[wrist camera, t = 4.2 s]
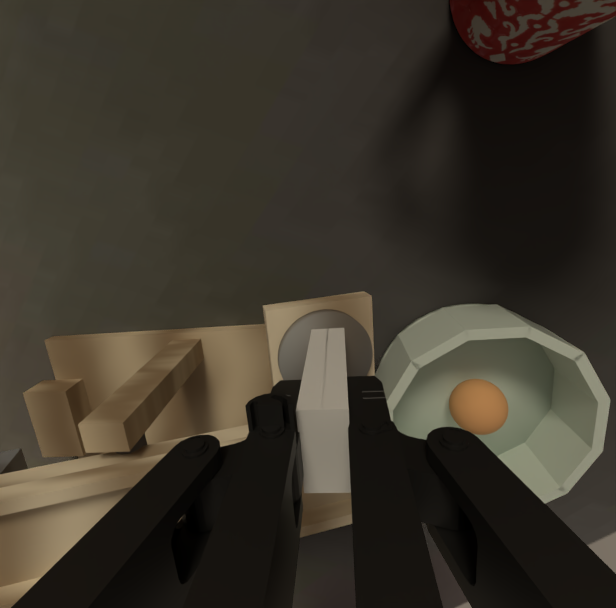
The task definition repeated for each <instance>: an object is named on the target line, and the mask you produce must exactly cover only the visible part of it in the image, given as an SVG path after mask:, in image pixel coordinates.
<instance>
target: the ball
mask: <svg viewBox="0 0 616 608" xmlns="http://www.w3.org/2000/svg"><path fill="white" fill-rule="evenodd" d="M449 409H450V413H451V415H452V417H453V419H454V421H455V422H456V423H457V424H458V425H459V426H460V427H461V428H462V429H464V430H466V431H469V432H471V433H473V434H477V435H487V434H491V433H493V432H495V431H497V430H499V429H500V428H501V427H502V426H503V425H504V423H505V421H506V419H507V417H508V403H507V400H506V398H505V396H504V394H503V393H502V391H501V390H500V389H499V388H498V387H497V386H495V385H494V384H492V383H491V382H488V381H486V380H482V379H469V380H465V381H463V382H461V383H460V384H458V385H457V386H456V387H455V388H454V389H453V391H452V393H451V395H450V399H449Z"/></svg>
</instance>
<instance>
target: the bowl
mask: <svg viewBox="0 0 616 608" xmlns="http://www.w3.org/2000/svg"><path fill="white" fill-rule="evenodd" d="M375 376H376V377H377V378H378V379H379V380H380V381H381V382H382V384H383V389H384V393H385V398H386V401H387V405H388V409H389V413H390V418H391V421H393V422H394V424H395V426H396V427H397V430H398V431H400V432H401V433H403V434H405V435H407V436H410V437H414V438H419V439H424V440H426V439H427V435H428V434H429V433H430V432H431V431H432V430H434V429H437V428H440V427H456V428H461V427H460V426H459V425H458V424H457V423H456V422H455V421H454V419H453V417H452V415H451V413H450V409H449V399H450V395H451V393H452V391H453V389H454V388H455V387H456V386H457V385H458V384H460V383H461V382H463V381H465V380H469V379H482V380H486V381H488V382H491V383H492V384H494V385H495V386H497V387H498V388H499V389H500V390H501V391H502V393H503V394H504V396H505V398H506V400H507V403H508V417H507V419H506V421H505V423H504V425H503V426H502V427H501V428H500V429H499V430H497V431H495V432H493V433H491V434H487V435H477V434H474V435H475V436H477V437H478V438H479V439H480V440H481V441H482V442H483V443H484V444H485V445H486V446H487V447H488V448H489V449H490V450H491V451H492V452H493V453H494V454H495V455H496V456H497V457H498V458H499V459H500V460H501V461H502V462H503V463H504V464H505V465H506V466H507V467H508V468H509V469H510V470H511V471H512V472H513V473H514V474H515V475H516V476H517V477H518V478H519V479H520V480H521V481H522V482H523V483H524V484H525V485H526V486H527V487H528V488H529V489H530V490H531V491H532V492H533V493H534V494H535V495H537V496H538V497H539V498H540V499H541V500H542V501H543V502H544V503H547V502H549V501H551V500H554V499H556V498H558V497H560V496H563V495H565V494H567V493H568V492H569V491H570V489H571V488H572V487H573V486H574V485H575V484H576V482H577V481H578V480H579V479H580V478H581V476H582V475H583V474H584V473H585V472H586V471H587V469H588V468H589V467H590V466H591V465H592V463H593V462H594V461H595V460H596V459H597V457H598V456H599V455H600V454H601V453H602V452H603V446H604V439H605V433H606V426H607V419H608V412H609V406H610V398H609V396H608V394H607V393H606V391H605V389H604V387H603V385H602V384H601V382H600V380H599V378H598V376H597V375H596V373H595V371H594V369H593V367H592V365H591V364H590V362H589V360H588V358H587V356H586V355H585V353H584V352H583V351H581V350H579V349H578V348H576V347H575V346H573V345H571V344H570V343H568V342H566V341H565V340H563V339H562V338H560V337H558V336H557V335H555V334H554V333H552V332H550V331H549V330H547V329H545V328H544V327H542V326H540V325H538V324H536V323H534V322H532V321H530V320H528V319H526V318H524V317H522V316H520V315H518V314H517V313H515V312H512V311H510V310H507V309H505V308H503V307H501V306H499V305H497V304H492V305H489V304H481V303H464V304H456V305H451V306H447V307H443V308H440V309H437V310H434V311H432V312H429V313H427V314H425V315H423V316H421V317H419V318H418V319H416V320H415V321H413V322H412V323H410V324H409V325H408V326H406V327H405V328H404V329H403V330H402V331H401V332H400V333H399V334H398V335H397V336H396V337H395V338H394V339H393V340H392V342H391V343H390V344H389V346H388V347H387V349H386V350H385V352H384V354H383V356H382V358H381V360H380V362H379V365H378V368H377V371H376V373H375ZM461 429H462V428H461ZM472 434H473V433H472Z"/></svg>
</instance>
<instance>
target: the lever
mask: <svg viewBox="0 0 616 608" xmlns="http://www.w3.org/2000/svg"><path fill="white" fill-rule="evenodd" d="M263 313H264V321H265V330H266V338H267V347H268V355H269V363H270V372H271V380H272V387H273V386H274V385H276V384H277V383H278V382H279V381H280V380H302V376H303V371H304V366H305V361H306V356H307V350H308V345H309V340H310V335H311V330H312V329H329V328H344V332H345V349H346V366H347V377H352V376H375V369H374V343H373V316H372V296H371V295H369V294H367V293H366V292H364V291H363V292H356V293H349V294H342V295H335V296H327V297H320V298H313V299H306V300H299V301H292V302H284V303H277V304H270V305H263ZM248 433H249V429H248V425H244V426H239V427H234V428H229V429H224V430H219V431H214V432H209V433H204V434H199V435H211V436H214V437H216V438H217V439H218V440H219V441H220V447H222V446H227V445H231V444H235V443H238V442H241V441H243V440H245V439H246V438H247V435H248ZM194 436H196V435H194ZM189 437H192V436H189ZM189 437H184V438H179V439H174V440H169V441H164V442H159V443H154V444H149V445H147V441H146V436H145V433H144V434H143V436H142V437H141V438H140V439H139V441H138V442H137V443H136V444H135V446H134V447H133V448H132V449H131V451H128V452H109V453H104V454H99V455H94V456H90V457H85V458H80V459H75V460H70V461H65V462H60V463H55V464H50V465H45V466H40V467H35V468H30V469H28V468H27V465H26V462H25V459H24V456H23V453H22V450H21V448H20V449H14V450H9V451H4V452H0V608H11V607H12V606H13V605H14V604H15V603H16V602H17V601H18V600H19V599H20V598H21V597H22V596H23V595H24V594H25V593H26V592H27V591H28V590H29V589H30V588H31V587H32V586H33V585H34V584H35V583H36V582H37V581H38V580H39V579H40V578H41V577H42V576H43V575H45V574H46V573H47V572H48V571H49V570H50V569H51V568H52V567H53V566H54V565H55V564H56V563H57V562H58V561H59V560H60V559H61V558H62V557H63V556H64V555H65V554H66V553H67V552H68V551H69V550H70V549H71V548H72V547H73V546H74V545H75V544H76V543H77V542H78V541H79V540H80V539H81V538H82V537H83V536H84V535H85V534H86V533H87V532H88V531H89V530H90V529H91V528H92V527H93V526H94V525H95V524H96V523H97V522H98V521H99V520H100V519H101V518H102V517H103V516H104V515H105V514H106V513H107V512H108V511H109V510H110V509H111V508H112V507H113V506H114V505H115V504H116V503H118V502H119V501H120V500H121V499H122V498H123V497H124V496H125V495H126V494H127V493H128V492H129V491H130V490H131V489H132V488H133V487H134V486H135V485H136V484H137V483H138V482H139V481H140V480H141V479H142V478H143V477H144V476H145V475H146V474H147V473H148V472H149V471H150V470H151V469H152V468H153V467H154V466H155V465H156V464H157V463H158V462H159V461H160V460H161V459H162V458H163V457H164V456H165V455H166V454H167V453H168V452H169V451H170V450H171V449H172V448H173V447H174V446H176V445H177V444H178V443H180V442H181V441H183V440H185V439H187V438H189ZM302 501H303V513H302V523H301V532H300V538H301V537H304V536H308V535H312V534H316V533H319V532H323V531H327V530H330V529H334V528H338V527H342V526H345V525H349V524H352V506H351V493H304V487H303V486H302ZM181 518H182V517H181ZM179 521H180V520H179ZM179 521H178V522H179Z"/></svg>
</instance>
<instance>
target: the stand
mask: <svg viewBox="0 0 616 608" xmlns="http://www.w3.org/2000/svg"><path fill="white" fill-rule="evenodd" d="M45 344H46V347H47V351H48V354H49V358H50V361H51V365H52V368H53V372H54V375H55V379H56V380H46V381H41V382H40V383H38V384H37V385H35V386H34V387H32V388H30V389H29V390H27V391H26V392H24V393H23V395H24V399H25V402H26V405H27V408H28V411H29V414H30V418H31V421H32V424H33V427H34V430H35V433H36V436H37V440H38V443H39V446H40V449H41V452H42V455H43V457H65V456H78V459H80V458H85V457H90V456H94V455H99V454H104V453H109V452H128V451H131V449H132V448H133V447H134V446H135V444H136V443H137V442H138V441H139V439H140V438H141V437H142V436H143V434H144V433H145V436H146V441H147V445H149V444H154V443H159V442H164V441H169V440H174V439H179V438H184V437H189V436H194V435H199V434H204V433H209V432H214V431H219V430H224V429H229V428H234V427H239V426H244V425H248V421H247V414H246V407H245V405H246V404H247V403H248V402H249V401H250V400H251V399H253V398H255V397H257V396H260V395H263V394H268V393H271V390H272V380H271V372H270V363H269V355H268V347H267V338H266V330H265V324H256V325H239V326H222V327H205V328H188V329H171V330H154V331H137V332H120V333H103V334H86V335H69V336H53V337H51V338H49V339H47V340H45Z"/></svg>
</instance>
